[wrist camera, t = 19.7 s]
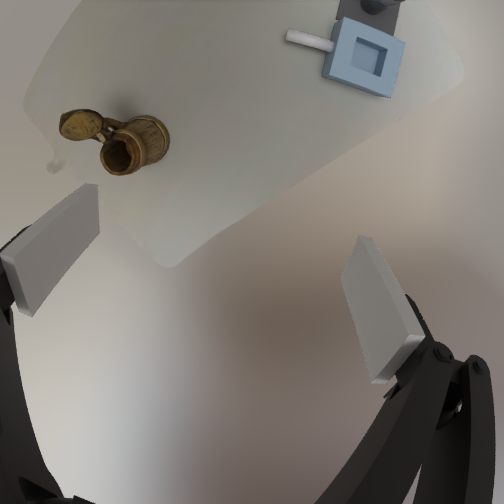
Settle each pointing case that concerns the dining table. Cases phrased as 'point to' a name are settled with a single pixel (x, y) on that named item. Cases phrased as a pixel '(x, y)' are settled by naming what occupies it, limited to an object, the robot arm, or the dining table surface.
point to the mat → (369, 16)
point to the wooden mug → (118, 139)
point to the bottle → (377, 5)
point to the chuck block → (357, 56)
